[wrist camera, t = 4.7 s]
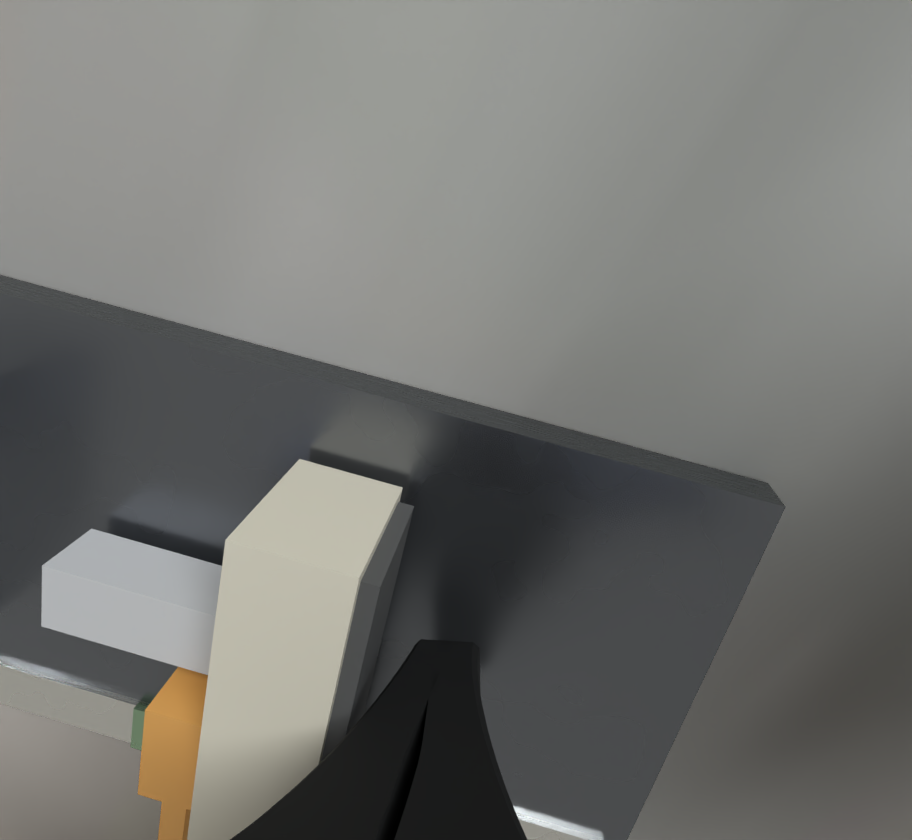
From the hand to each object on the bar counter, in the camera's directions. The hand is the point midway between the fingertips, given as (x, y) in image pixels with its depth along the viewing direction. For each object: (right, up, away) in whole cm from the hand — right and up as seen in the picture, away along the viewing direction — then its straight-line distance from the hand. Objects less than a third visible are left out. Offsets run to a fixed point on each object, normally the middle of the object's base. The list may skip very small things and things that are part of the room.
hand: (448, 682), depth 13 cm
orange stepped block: (-5, -2, +2) cm, 6 cm away
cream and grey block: (-4, +1, +1) cm, 5 cm away
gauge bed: (-4, +2, +2) cm, 5 cm away
